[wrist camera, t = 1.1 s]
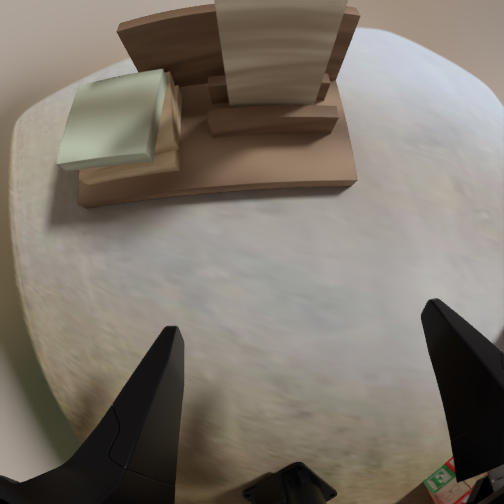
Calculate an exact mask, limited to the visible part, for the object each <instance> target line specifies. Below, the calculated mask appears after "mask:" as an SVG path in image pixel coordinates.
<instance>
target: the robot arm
mask: <svg viewBox="0 0 504 504" xmlns="http://www.w3.org/2000/svg"><path fill="white" fill-rule="evenodd" d="M421 321H422V325H423V330H424V334H425V338H426V343H427V348H428V352H429V356H430V359H431V362H432V366H433V369H434V373H435V376H436V380H437V383H438V387H439V391H440V395H441V399H442V403H443V407H444V411H445V416H446V420H447V425H448V430H449V435H450V440H451V447H452V453H453V459H454V466H455V474H456V481H457V483H459V482H462V481H465V480H467V479H470V478H473V477H475V476H478V475H481V474H483V473H485V472H487V473H488V474H486V475H484V476H483V477H481V478H480V479H478V480H477V481H476V483H475V485H474V487H473V489H472V491H471V494H470V496H469V498H468V500H467V501H466V504H504V353H503V352H501V351H500V350H499V349H498V348H497V347H496V346H495V345H494V344H492V343H491V342H490V341H489V340H488V339H487V338H486V337H484V336H483V335H482V334H481V333H480V332H479V331H478V330H476V329H475V328H474V327H473V326H472V325H470V324H469V323H468V322H467V321H466V320H464V319H463V318H462V317H461V316H460V315H458V314H457V313H456V312H455V311H454V310H452V309H451V308H450V307H449V306H447V305H446V304H445V303H444V302H442V301H441V300H440V299H438V298H435V299H430V300H428V302H427V303H426V305H425V307H424V309H423V311H422V313H421ZM183 392H184V340H183V337H182V335H181V333H180V330H179V328H178V327H177V326H166V327H165V328H164V329H163V330H162V332H161V333H160V335H159V336H158V338H157V339H156V340H155V342H154V343H153V345H152V346H151V348H150V349H149V351H148V352H147V353H146V355H145V356H144V358H143V359H142V361H141V362H140V364H139V365H138V367H137V368H136V370H135V371H134V372H133V374H132V375H131V377H130V378H129V380H128V381H127V383H126V384H125V386H124V387H123V389H122V390H121V392H120V393H119V395H118V396H117V398H116V399H115V401H114V402H113V405H111V407H110V408H109V410H108V411H107V413H106V414H105V416H104V417H103V418H102V420H101V421H100V423H99V424H98V425H97V427H96V428H95V429H94V431H93V432H92V433H91V434H90V436H89V437H88V438H87V439H86V440H85V442H84V443H83V444H82V445H81V446H80V448H79V449H78V450H77V451H76V452H75V454H74V455H73V456H72V457H71V458H70V459H69V460H68V461H67V462H66V463H64V464H63V465H61V466H59V467H57V468H56V469H53V470H51V471H48V472H46V473H44V474H41V475H39V476H37V477H34V478H32V479H29V480H27V481H24V482H21V483H20V482H18V481H15V480H13V479H10V478H8V477H5V476H2V475H0V504H174V500H175V481H176V466H177V453H178V441H179V430H180V420H181V410H182V401H183ZM299 466H300V468H297V467H299ZM332 493H333V494H332ZM242 495H243V497H244V498H245V499H247V500H248V501H249V502H251V503H252V504H327V503H326V502H327V501H329V500H331V499H332V498H334V497H335V496H336V495H337V492H336V490H335V489H334V488H332V487H331V486H330V485H329V484H327V483H326V482H325V481H324V480H322V479H321V478H320V477H319V476H318V475H316V474H315V473H314V472H313V471H312V470H311V469H309V468H308V467H307V466H306V465H305V464H304V463H302V462H296V463H294V464H293V465H291V466H289V467H288V468H286V469H284V470H282V471H281V472H279V473H276V474H274V475H272V476H271V477H269V478H267V479H265V480H263V481H261V482H259V483H257V484H255V485H254V486H252V487H250V488H248V489H246V490H244V491H243V494H242Z"/></svg>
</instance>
